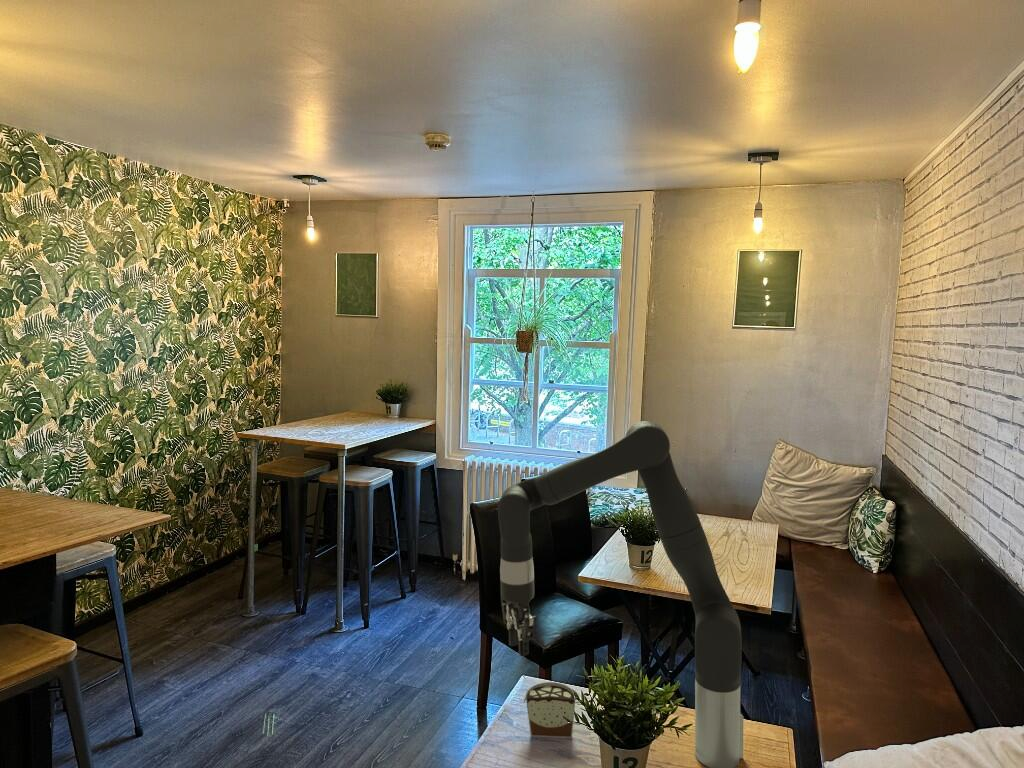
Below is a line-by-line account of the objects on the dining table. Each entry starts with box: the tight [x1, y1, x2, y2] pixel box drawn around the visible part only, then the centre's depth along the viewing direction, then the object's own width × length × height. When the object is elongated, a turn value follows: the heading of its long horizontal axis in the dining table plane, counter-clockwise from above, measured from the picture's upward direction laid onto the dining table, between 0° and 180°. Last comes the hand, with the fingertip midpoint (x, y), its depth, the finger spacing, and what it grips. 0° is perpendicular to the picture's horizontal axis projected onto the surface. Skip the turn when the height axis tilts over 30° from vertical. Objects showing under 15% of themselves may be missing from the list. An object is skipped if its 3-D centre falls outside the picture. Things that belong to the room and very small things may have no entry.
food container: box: [523, 681, 579, 739], centre depth 152 cm, size 12×6×10 cm, turn 84°
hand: (518, 649), depth 147 cm, fingers open, 4 cm apart
